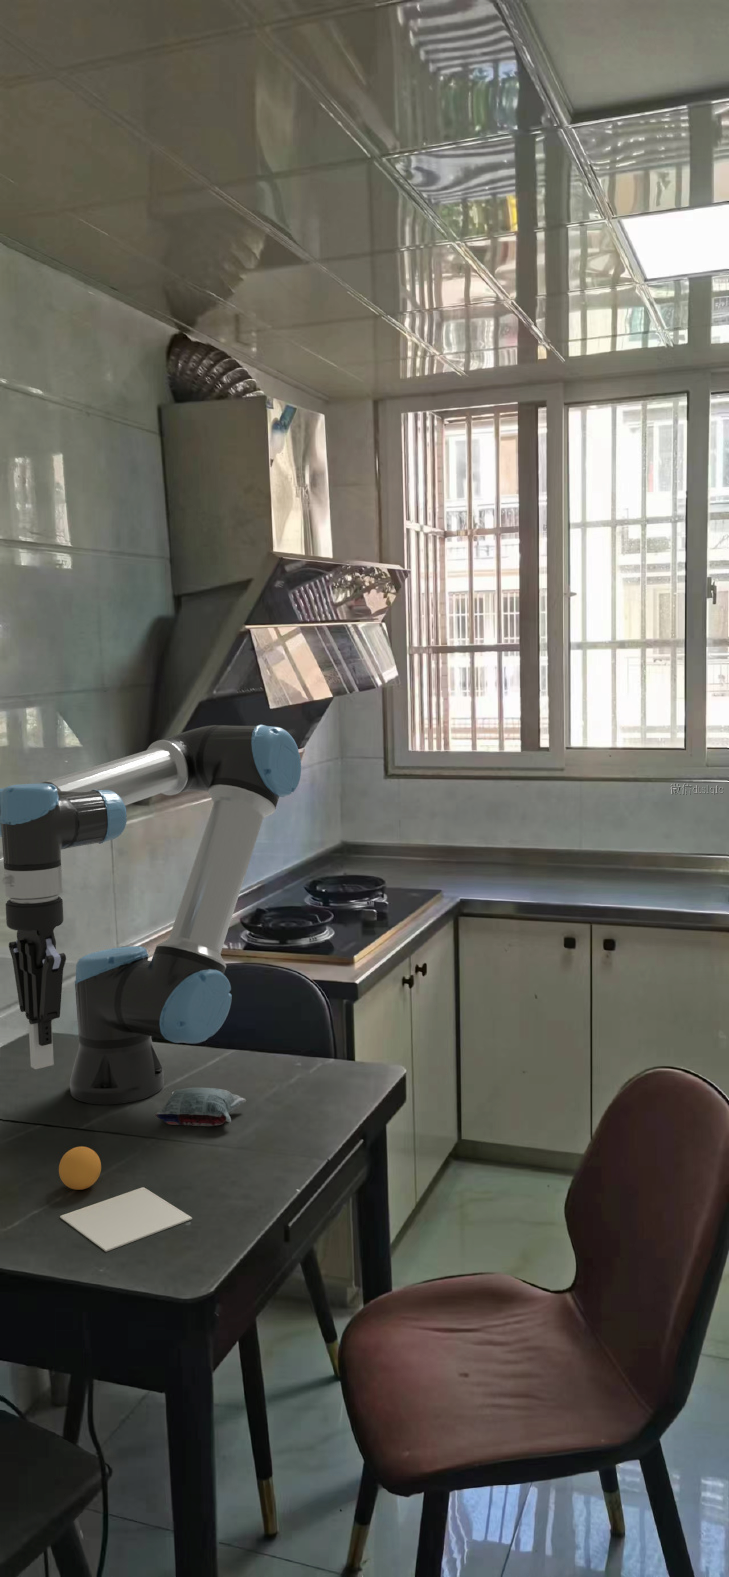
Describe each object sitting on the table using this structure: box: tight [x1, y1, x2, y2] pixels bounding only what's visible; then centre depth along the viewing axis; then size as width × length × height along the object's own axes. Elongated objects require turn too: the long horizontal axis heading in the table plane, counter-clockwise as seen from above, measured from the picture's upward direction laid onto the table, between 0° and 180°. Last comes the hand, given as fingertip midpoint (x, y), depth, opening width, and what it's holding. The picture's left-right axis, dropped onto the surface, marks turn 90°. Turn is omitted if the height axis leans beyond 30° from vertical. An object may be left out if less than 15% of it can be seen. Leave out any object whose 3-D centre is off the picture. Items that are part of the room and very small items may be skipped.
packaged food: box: [154, 1086, 247, 1127], centre depth 181 cm, size 9×12×5 cm
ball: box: [58, 1146, 102, 1191], centre depth 158 cm, size 6×6×6 cm
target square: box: [59, 1186, 193, 1253], centre depth 149 cm, size 12×12×1 cm
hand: (42, 1065), depth 164 cm, fingers closed
